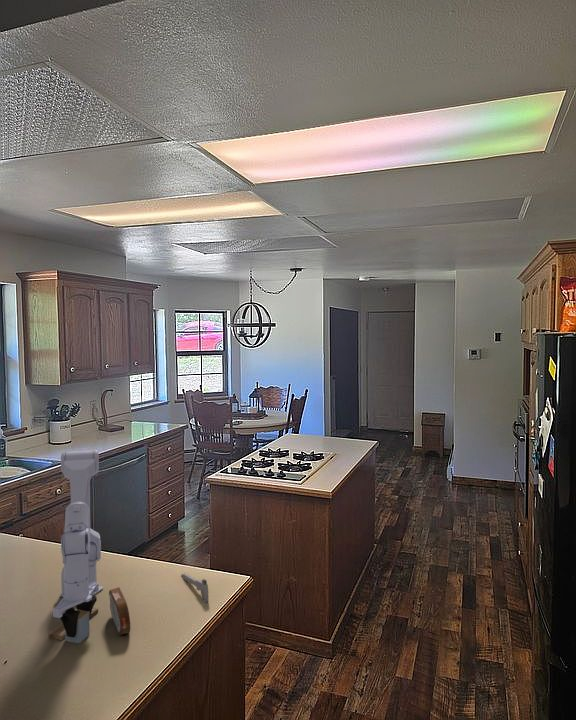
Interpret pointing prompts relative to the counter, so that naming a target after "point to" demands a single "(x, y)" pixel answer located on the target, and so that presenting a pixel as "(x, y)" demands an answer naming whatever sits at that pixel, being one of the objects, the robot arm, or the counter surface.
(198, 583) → the caliper
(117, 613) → the tin
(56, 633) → the board
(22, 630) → the counter surface
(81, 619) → the tan grey block
